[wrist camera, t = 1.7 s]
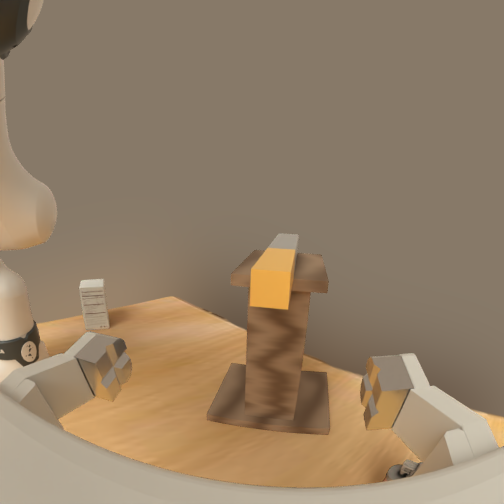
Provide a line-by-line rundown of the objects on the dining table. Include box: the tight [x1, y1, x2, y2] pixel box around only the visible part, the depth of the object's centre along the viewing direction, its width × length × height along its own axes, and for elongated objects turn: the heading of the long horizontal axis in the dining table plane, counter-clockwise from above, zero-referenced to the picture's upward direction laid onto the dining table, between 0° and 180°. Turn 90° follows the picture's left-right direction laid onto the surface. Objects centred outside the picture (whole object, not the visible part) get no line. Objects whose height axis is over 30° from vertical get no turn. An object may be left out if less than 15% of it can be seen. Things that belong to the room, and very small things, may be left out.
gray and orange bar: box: [250, 234, 298, 310], centre depth 37 cm, size 3×26×3 cm, turn 169°
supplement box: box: [79, 279, 109, 330], centre depth 71 cm, size 7×7×13 cm
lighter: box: [383, 460, 423, 482], centre depth 20 cm, size 8×3×10 cm, turn 41°
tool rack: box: [207, 250, 330, 435], centre depth 45 cm, size 20×17×26 cm
